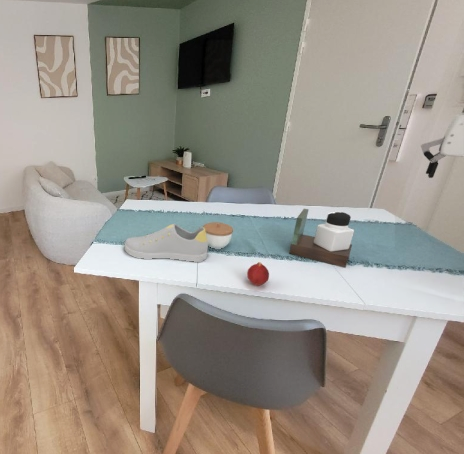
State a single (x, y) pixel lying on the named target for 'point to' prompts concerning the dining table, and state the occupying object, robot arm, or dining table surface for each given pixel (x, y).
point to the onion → (258, 274)
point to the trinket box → (218, 234)
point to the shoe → (170, 244)
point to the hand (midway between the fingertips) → (457, 179)
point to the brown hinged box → (314, 246)
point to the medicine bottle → (334, 232)
